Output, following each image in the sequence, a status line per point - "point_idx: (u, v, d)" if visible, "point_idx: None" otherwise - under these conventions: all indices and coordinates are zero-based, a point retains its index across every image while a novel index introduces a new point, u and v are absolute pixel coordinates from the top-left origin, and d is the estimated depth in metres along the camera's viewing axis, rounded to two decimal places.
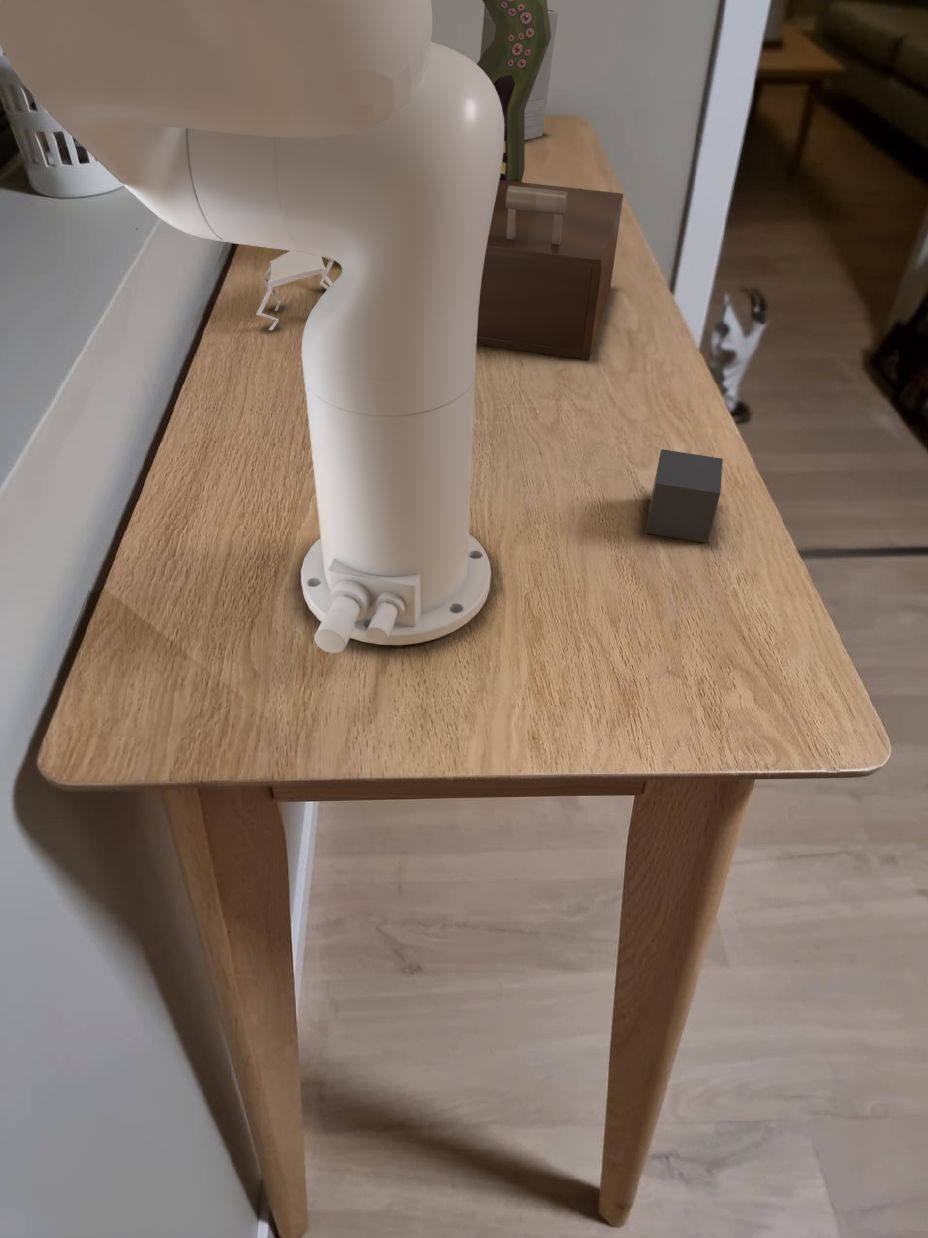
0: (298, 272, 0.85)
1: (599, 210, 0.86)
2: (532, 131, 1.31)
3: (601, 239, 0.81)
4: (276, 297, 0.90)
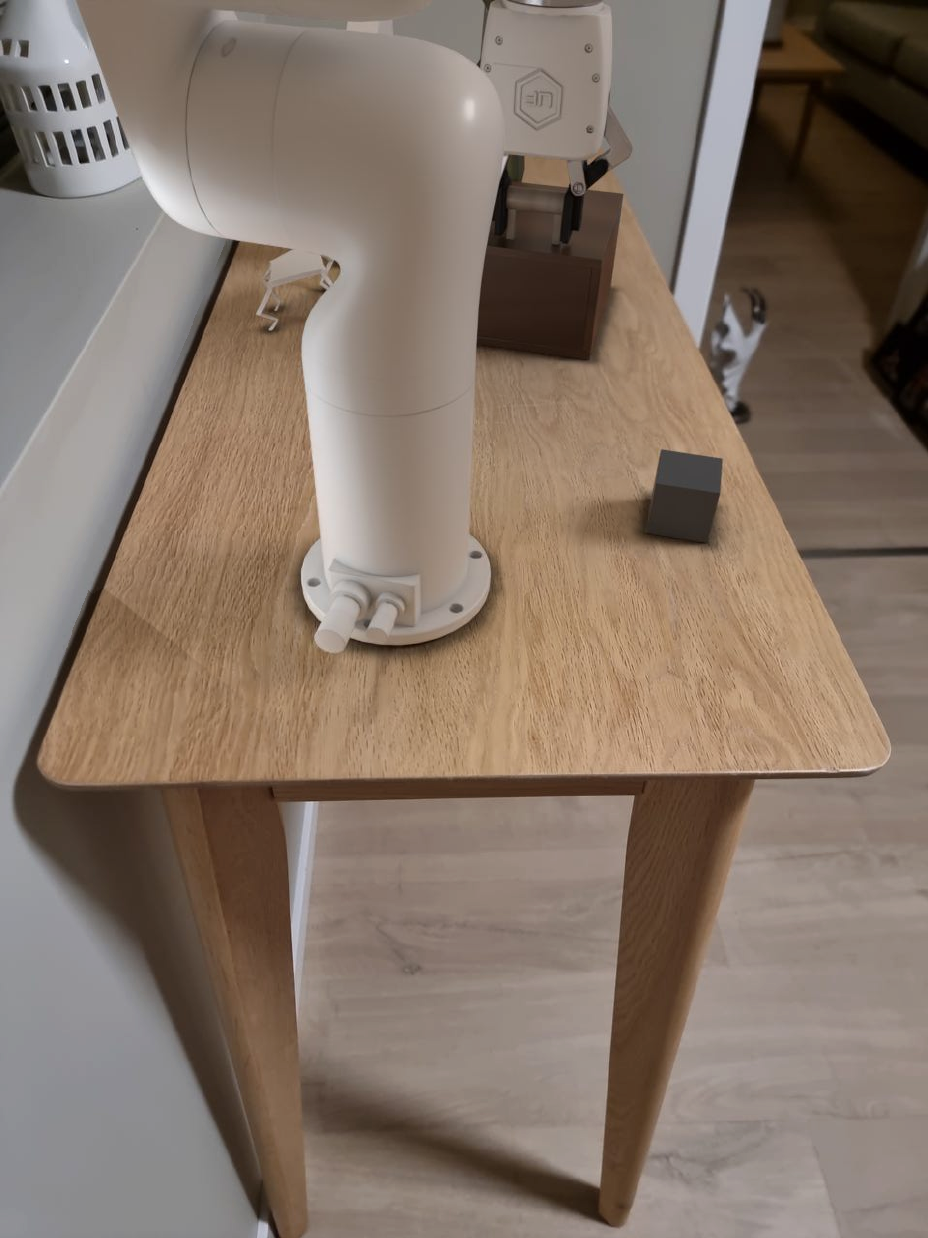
0: (298, 272, 0.85)
1: (599, 210, 0.86)
2: None
3: (601, 239, 0.81)
4: (276, 297, 0.90)
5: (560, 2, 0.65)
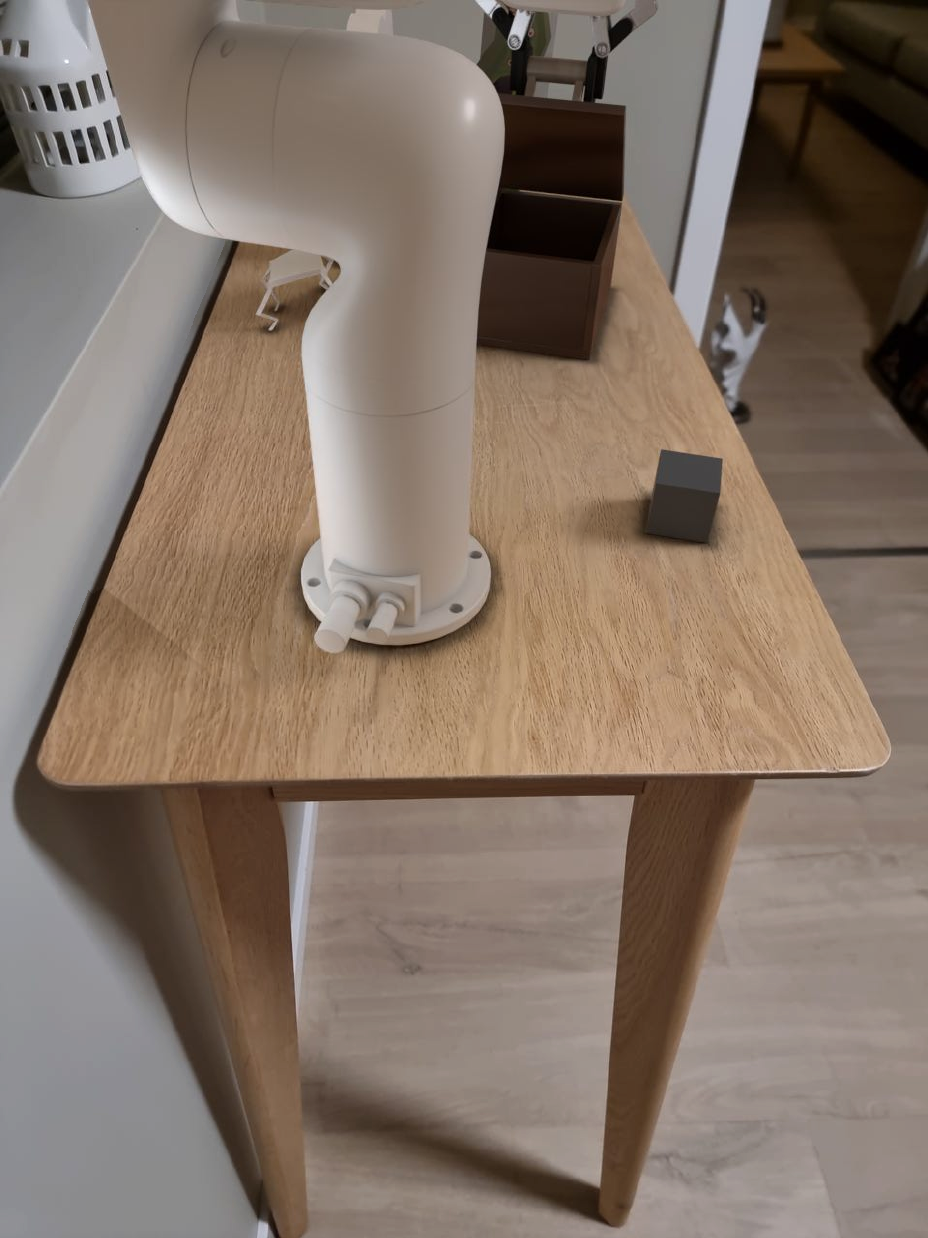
0: (298, 273, 0.85)
1: None
2: None
3: None
4: (276, 297, 0.90)
5: None
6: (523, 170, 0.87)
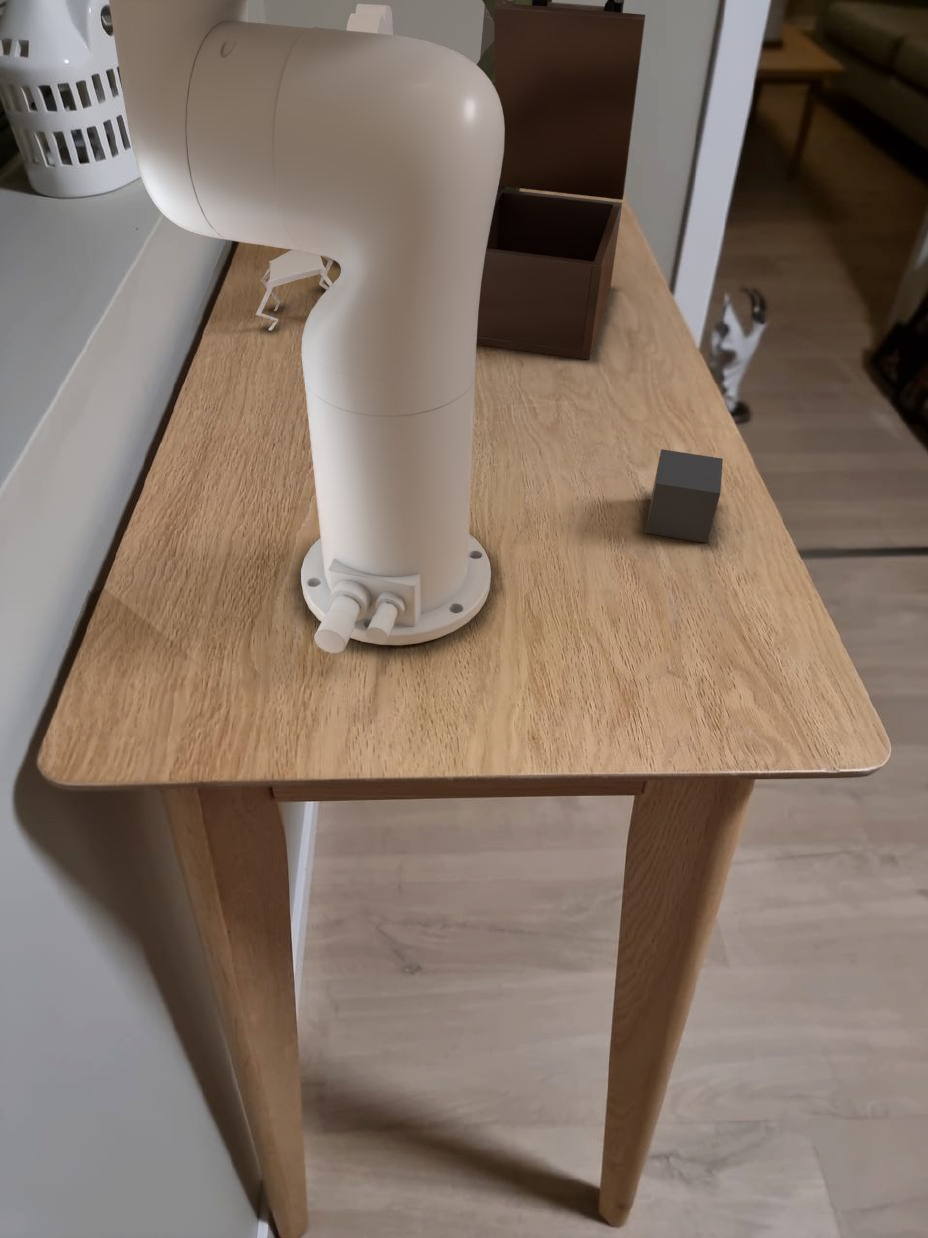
0: (297, 273, 0.85)
1: None
2: None
3: None
4: (275, 297, 0.90)
5: None
6: (528, 145, 0.87)
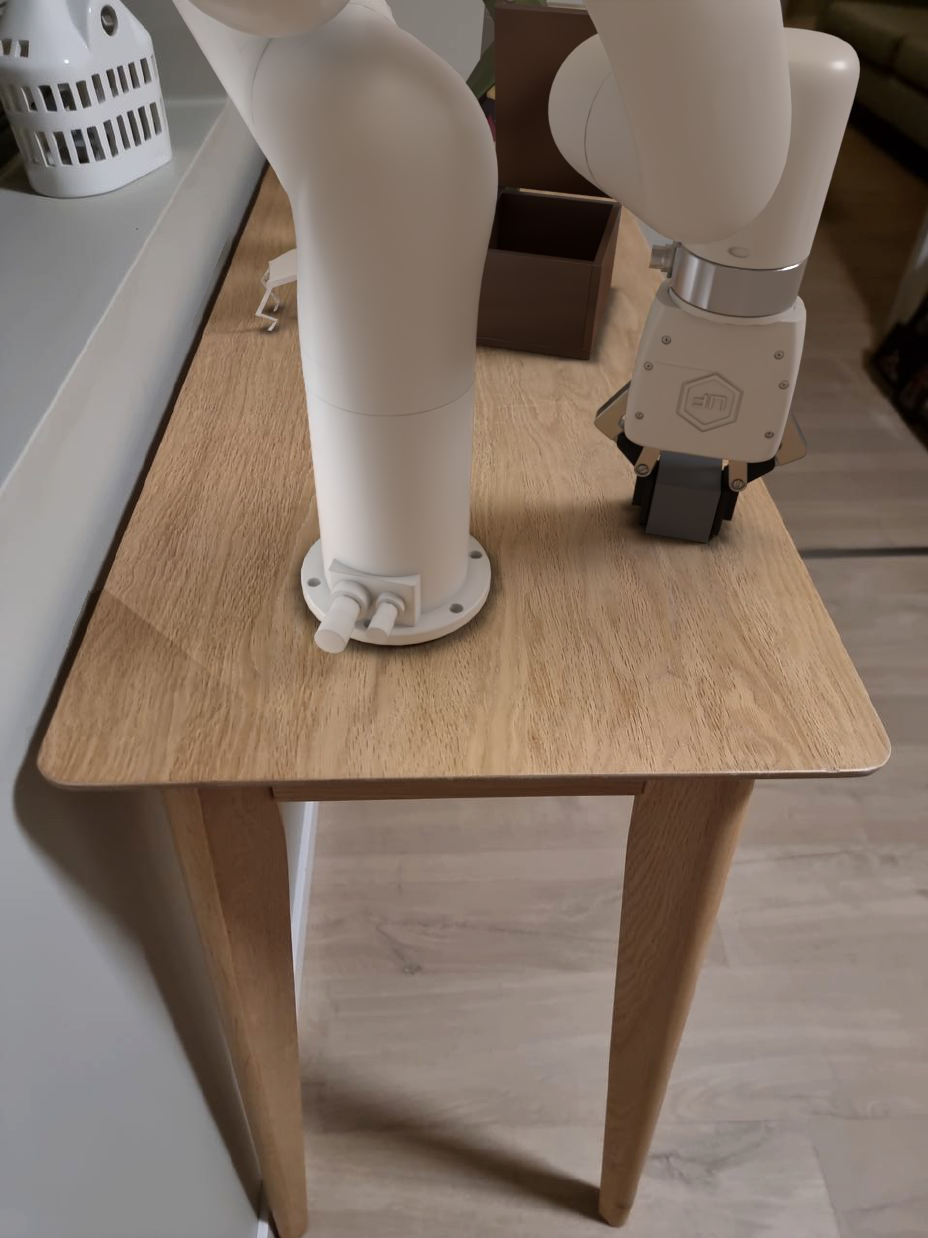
0: None
1: None
2: None
3: None
4: (275, 297, 0.90)
5: (752, 312, 0.53)
6: (528, 145, 0.87)
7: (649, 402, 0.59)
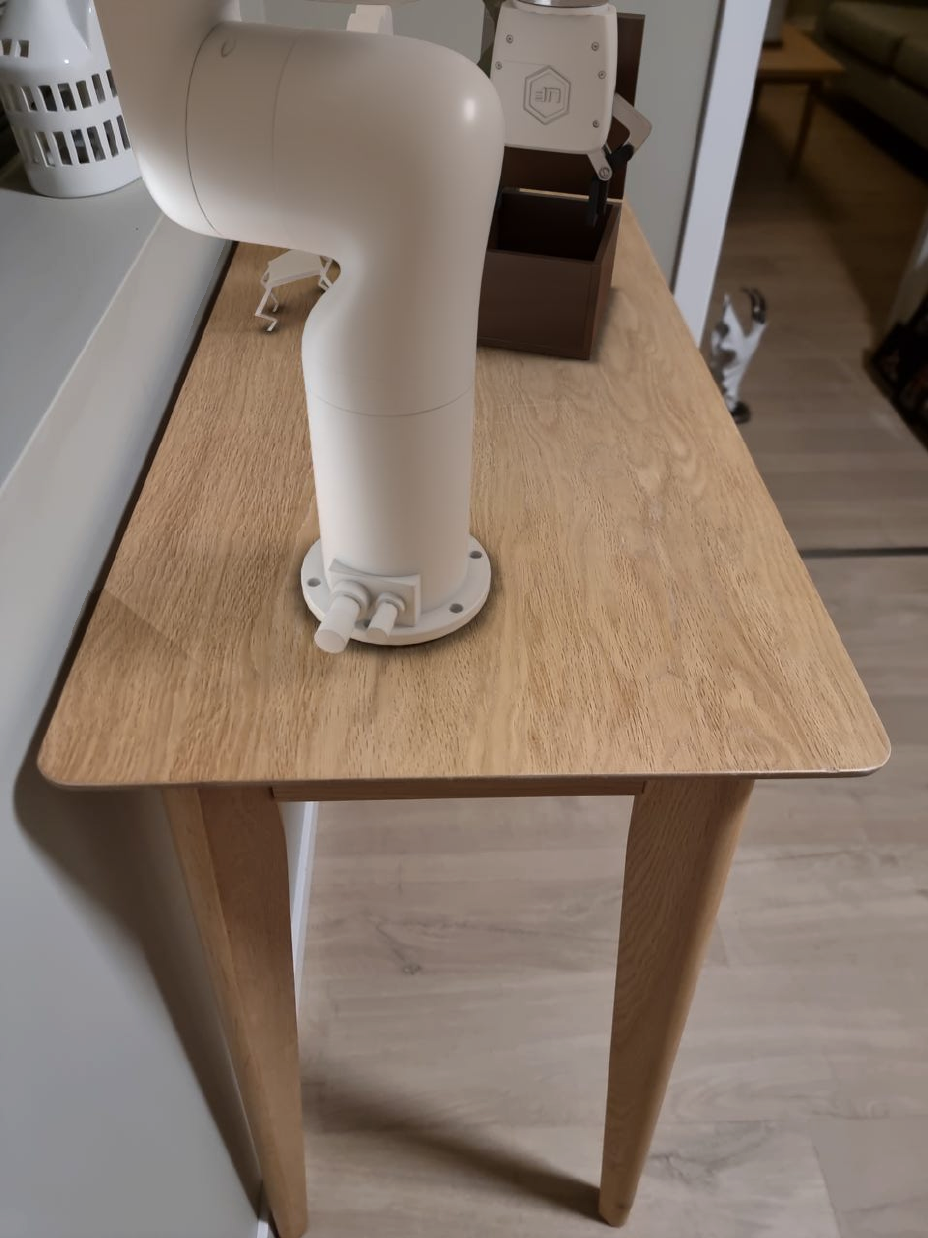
0: (296, 273, 0.85)
1: None
2: None
3: None
4: (274, 298, 0.90)
5: (568, 2, 0.68)
6: None
7: (502, 99, 0.75)
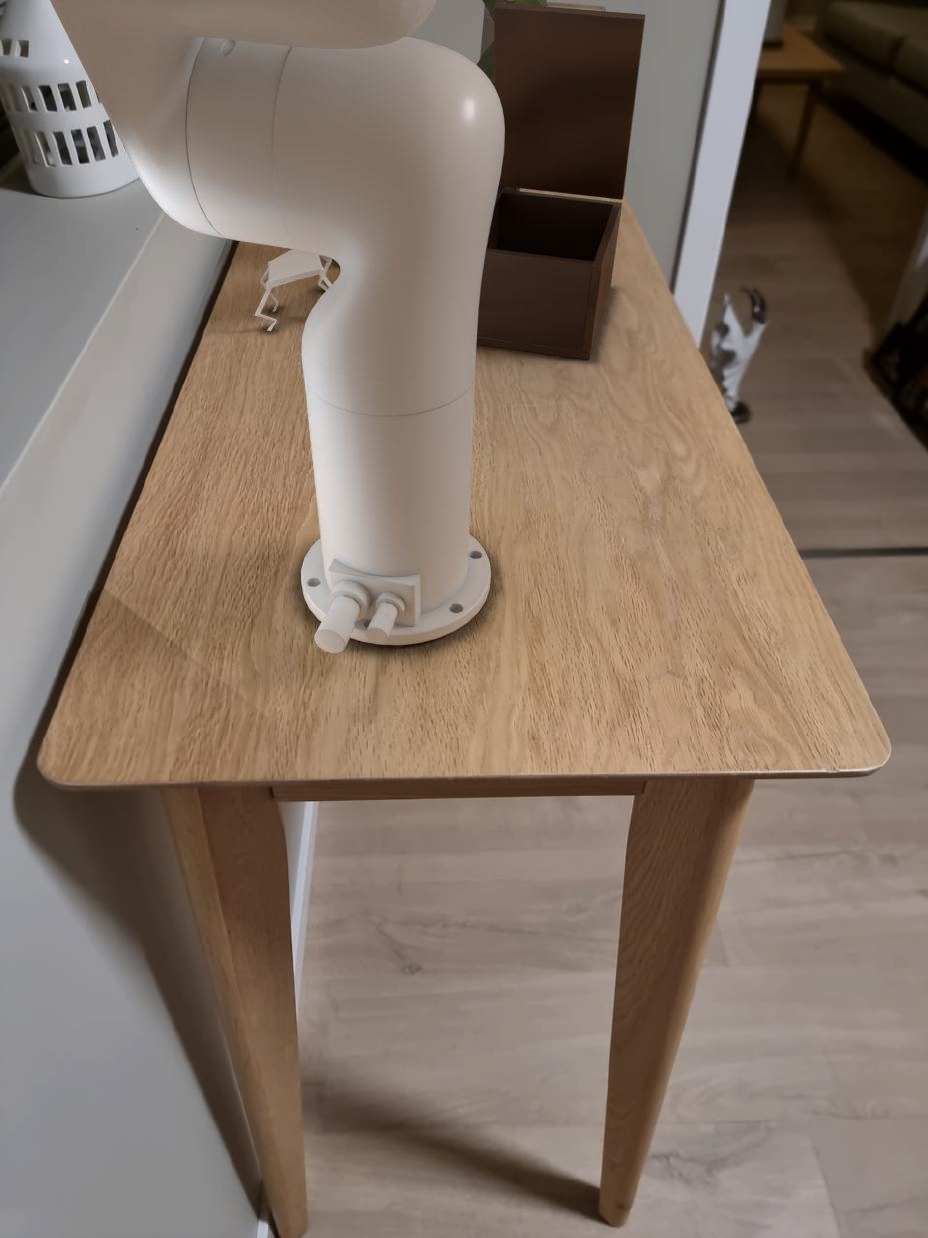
0: (296, 273, 0.85)
1: None
2: None
3: None
4: (274, 298, 0.90)
5: None
6: (528, 145, 0.87)
7: None
